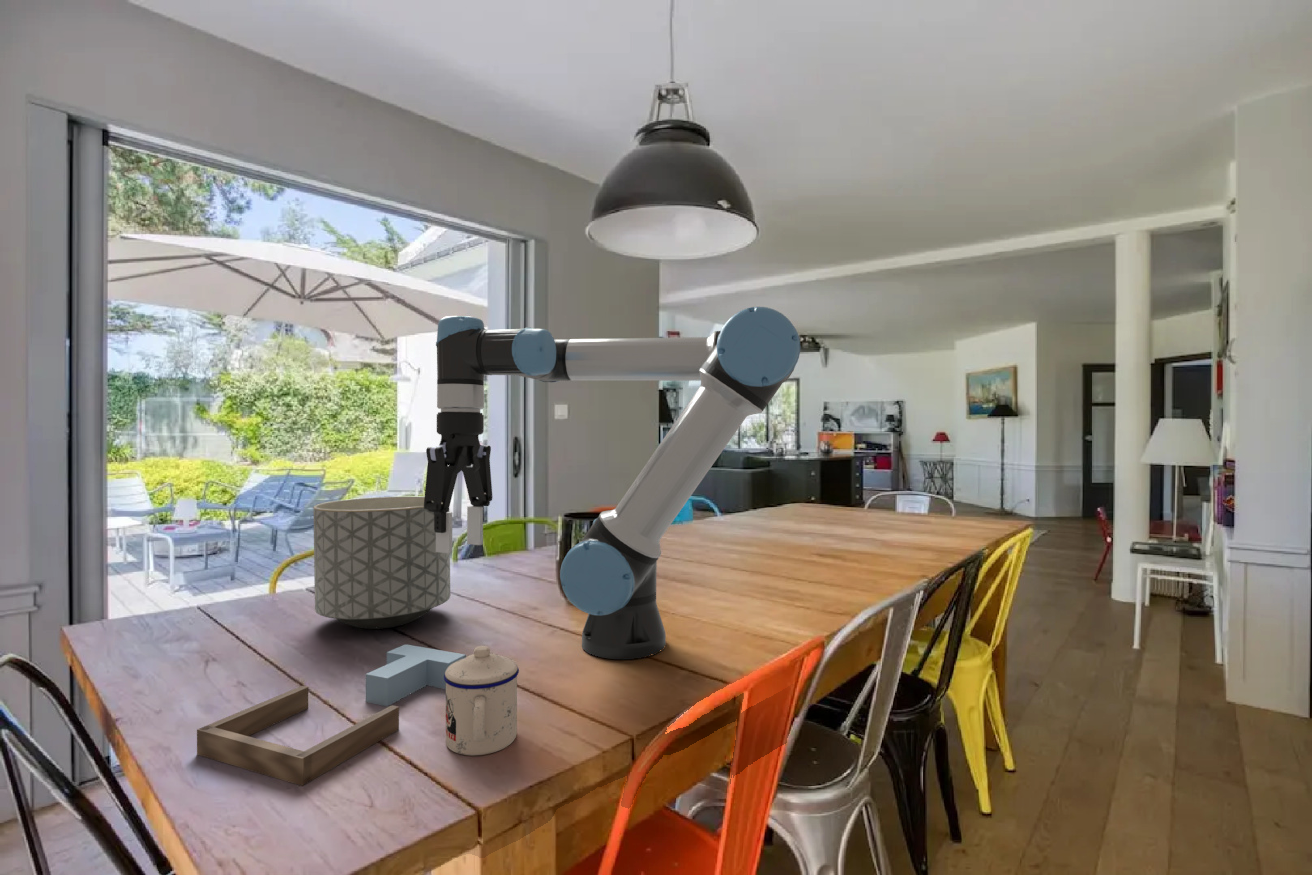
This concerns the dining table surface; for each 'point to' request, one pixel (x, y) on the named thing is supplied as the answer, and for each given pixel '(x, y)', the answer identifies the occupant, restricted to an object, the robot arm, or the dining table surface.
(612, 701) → the dining table surface
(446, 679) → the teacup with lid
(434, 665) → the t block
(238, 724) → the frame
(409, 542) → the planter
